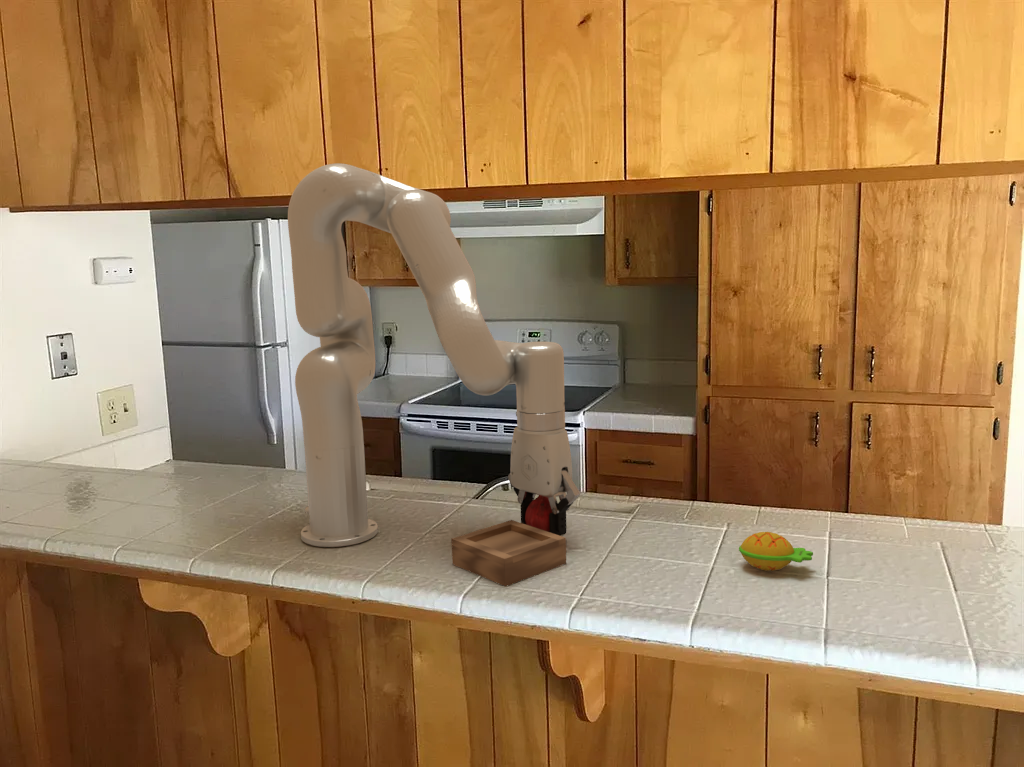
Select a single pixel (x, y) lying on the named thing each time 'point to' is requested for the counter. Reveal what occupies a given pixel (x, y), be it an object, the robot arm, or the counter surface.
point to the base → (508, 552)
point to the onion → (539, 513)
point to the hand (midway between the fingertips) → (543, 529)
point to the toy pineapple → (771, 551)
